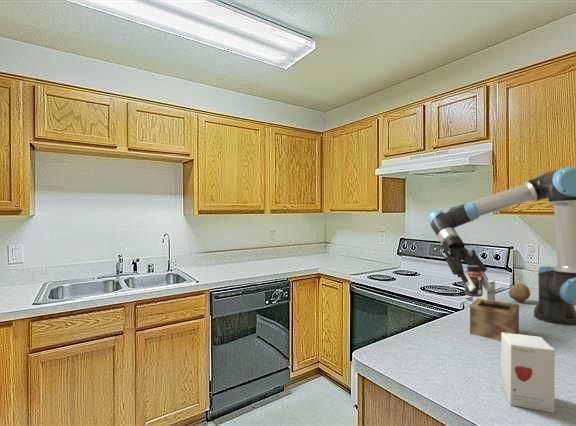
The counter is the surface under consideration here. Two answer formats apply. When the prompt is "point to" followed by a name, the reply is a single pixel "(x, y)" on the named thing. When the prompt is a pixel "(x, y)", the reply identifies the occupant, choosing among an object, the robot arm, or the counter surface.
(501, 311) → the box
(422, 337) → the counter surface
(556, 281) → the robot arm
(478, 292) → the supplement bottle
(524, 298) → the natural sponge
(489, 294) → the supplement box
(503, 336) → the supplement box
